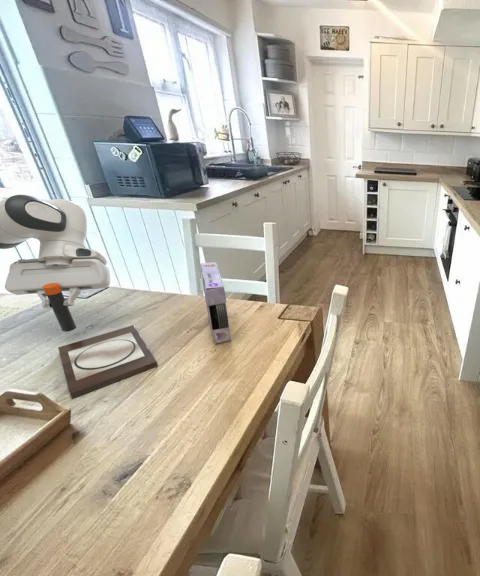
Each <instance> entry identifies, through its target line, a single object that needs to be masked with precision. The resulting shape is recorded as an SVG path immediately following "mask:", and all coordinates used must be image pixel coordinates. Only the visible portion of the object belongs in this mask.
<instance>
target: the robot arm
mask: <svg viewBox="0 0 480 576" xmlns="http://www.w3.org/2000/svg"><path fill="white" fill-rule="evenodd" d="M87 235H88V221H87V215H86V212H85V210H84V209H83V207H81V206H80V205H79V204H78V203H76V202H73V201H70V200H69V199H64V198H53V199H42V198H37V197H35V196H32V195H28V194H15V195H12V196H9V197H7V198H4V199H2V200H0V250H7V249H12V248H13V249H14V248H15V247H18V246H19V245H21V244H23V243H25V242H26V241H27V240H30V239H36V240H38V241H39V250H38V258H30V259H29V258H28V259H25V258H23V259H18V260H17V261H14V262H12V263H10V265H9V269H8V273H7V276H6V279H5V283H4V289H5V290H6V291H7V292H8V293H11V294H13V295H16V296H22V295H34V294H37V296H38V298H39V299H40V300H41V301H42V303H41V307H42V308H43V309H53V308H52V306H51V304H50V302H49V299H48V297H47V295H46V294H45V292H44V289H43V286H44V285H46V284H50V283H59V285H60V287H61V290H62V292H70V294H69V295H68V296H67V297H64V300H63V301H64V302H63V305H64V306H68V307H73V306H75V300H77V298H78V297H79V296H80V295H81V291H85V290H87V291H88V290H97V289H98V290H99V289H107V288H108V287H109V286H110V285H111V273H110V269H109V267H108V266H107V263H108V260H107V258H106V257H105V256H104V255H103V254H101V253H100V252H98V251H97V250H95V249H92V248H87V247H86V244H85V240H86V238H87Z"/></svg>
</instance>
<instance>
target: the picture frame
mask: <svg viewBox="0 0 480 576" xmlns="http://www.w3.org/2000/svg"><path fill="white" fill-rule="evenodd" d="M57 349H58V353H59V357H60V361H61V365H62V369H63V372H64V377H65V381H66V384H67V387H68V392H69V395H70V398H71V399H76V398H79V397H81V396H83V395H86V394H89V393H91V392H94V391H97V390H99V389H102V388H104V387H106V386H107V387H108V386H109V385H112V384H115V383H118V382H120V381H123V380H125V379H128V378H130V377H133V376H136V375H139V374H141V373H143V372H146V371H149V370H151V369H154V368H157V367H159V365H158V361H157V359H156V358H155V357H154V355H153V353H152V352H151V350H150V348H149V347H148V345H147V344H146V341H144V338H142V336H141V334H140V332H139V330H138V329H137V328H136V326H135V325H134V324H132V325H129V326H126V327H122V328H119V329H115V330H112V331H108V332H105V333H102V334H99V335H95V336H91V337H87V338H85V339H82V340H78V341H74V342H71V343H68V344H64V345H61V346H58V347H57Z"/></svg>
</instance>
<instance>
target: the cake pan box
mask: <svg viewBox="0 0 480 576" xmlns="http://www.w3.org/2000/svg"><path fill="white" fill-rule="evenodd" d="M199 266H200V274H201V275H200V276H201V280H202V286H203V287H202V289H203V294H204V301H205V306H206V311H207V319H208V322H209V327H210V331H211V335H212V339H213V343H214V345H219V344H223V343H227V342H232V334H231V329H230V324H229V316H228V310H227V297H226V291H225V286H224V282H223V279H222V276H221V273H220V270H219V266H218V263H217V262H216V261H215V262H213V261H212V262H211V261H210V262H202V263H200V264H199Z"/></svg>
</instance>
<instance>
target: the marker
mask: <svg viewBox="0 0 480 576" xmlns="http://www.w3.org/2000/svg"><path fill="white" fill-rule="evenodd" d="M43 289H44V292H45V294H46V295H47V298H48V299H49V302H50V304H51V306H52V308H51V309H52V311H53V314H54V315H55V318H56V320H57V322H58V324H59V326H60V329H61V331H62V332H64V333H66V332H67V333H68V332H73V331H74V330H76V328H77V325H76V323H75V320H74V317H73V316H72V313H71V311H70V308H69V306H64V305H63V302H64V301H63V300H64V298H65V296H64V294H63V291H62V290H61V287H60V285H59V283H50V284H46V285H44V286H43Z"/></svg>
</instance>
